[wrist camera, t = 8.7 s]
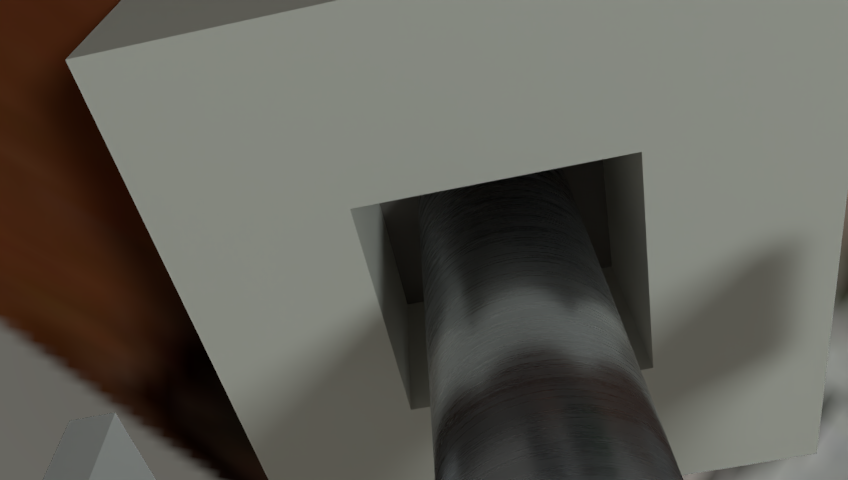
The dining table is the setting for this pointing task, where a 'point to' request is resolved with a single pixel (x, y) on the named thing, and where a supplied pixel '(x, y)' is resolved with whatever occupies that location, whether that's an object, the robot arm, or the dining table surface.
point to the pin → (529, 342)
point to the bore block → (478, 163)
